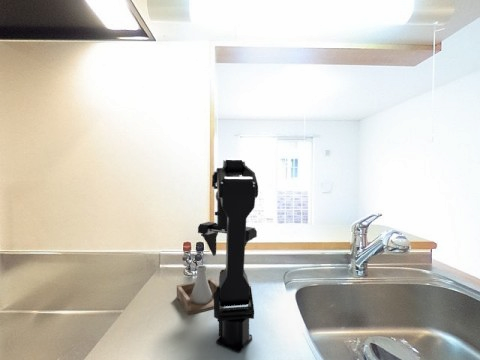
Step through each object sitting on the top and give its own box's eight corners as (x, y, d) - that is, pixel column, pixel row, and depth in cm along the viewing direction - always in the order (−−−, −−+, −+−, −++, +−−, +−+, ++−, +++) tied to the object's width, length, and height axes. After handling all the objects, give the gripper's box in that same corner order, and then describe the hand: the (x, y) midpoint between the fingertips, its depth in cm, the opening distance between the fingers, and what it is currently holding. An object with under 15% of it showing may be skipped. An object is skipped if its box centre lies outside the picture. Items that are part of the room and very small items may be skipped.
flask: (185, 302, 78) (185, 270, 78) (195, 292, 85) (195, 261, 85) (207, 306, 76) (207, 272, 76) (216, 295, 83) (216, 264, 83)
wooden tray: (227, 304, 78) (227, 292, 78) (188, 314, 73) (188, 302, 72) (211, 288, 89) (211, 278, 89) (176, 296, 83) (176, 285, 83)
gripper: (264, 207, 83) (264, 255, 84) (217, 203, 93) (217, 246, 93) (247, 212, 74) (247, 266, 74) (196, 207, 83) (196, 255, 84)
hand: (226, 257), depth 82 cm, fingers open, 9 cm apart
